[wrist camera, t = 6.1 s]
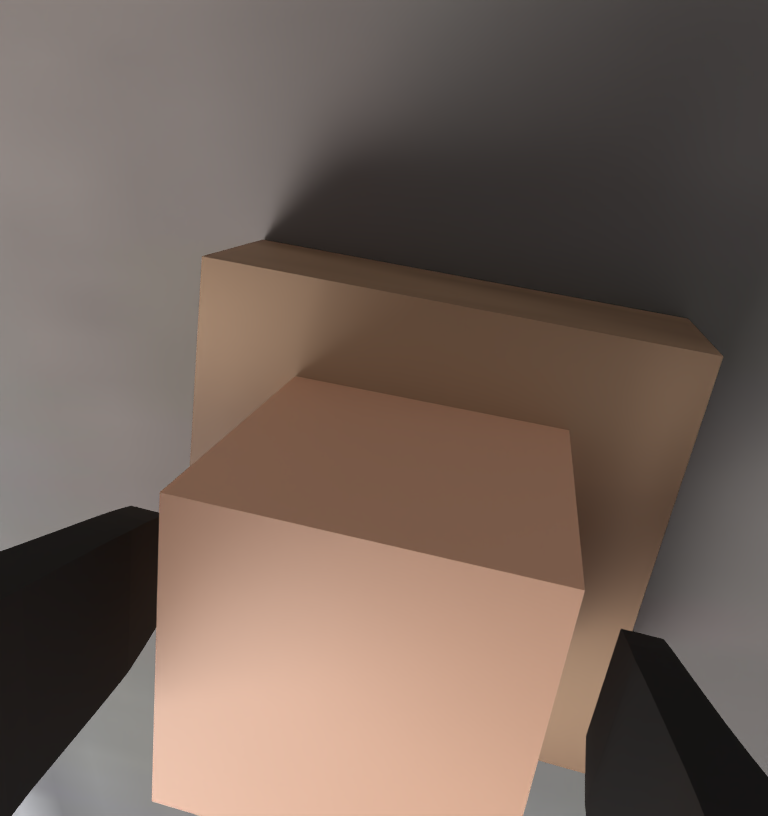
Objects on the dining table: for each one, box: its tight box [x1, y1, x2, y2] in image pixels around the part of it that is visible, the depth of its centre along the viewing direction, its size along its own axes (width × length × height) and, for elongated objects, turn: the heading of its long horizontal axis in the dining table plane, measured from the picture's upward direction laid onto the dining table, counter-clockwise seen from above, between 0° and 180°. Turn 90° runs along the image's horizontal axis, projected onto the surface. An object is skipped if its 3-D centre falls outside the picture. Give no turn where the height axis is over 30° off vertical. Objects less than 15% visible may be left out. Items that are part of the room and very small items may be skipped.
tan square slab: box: [190, 240, 723, 773], centre depth 15 cm, size 9×9×3 cm
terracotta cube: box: [152, 376, 585, 816], centre depth 11 cm, size 5×5×5 cm
